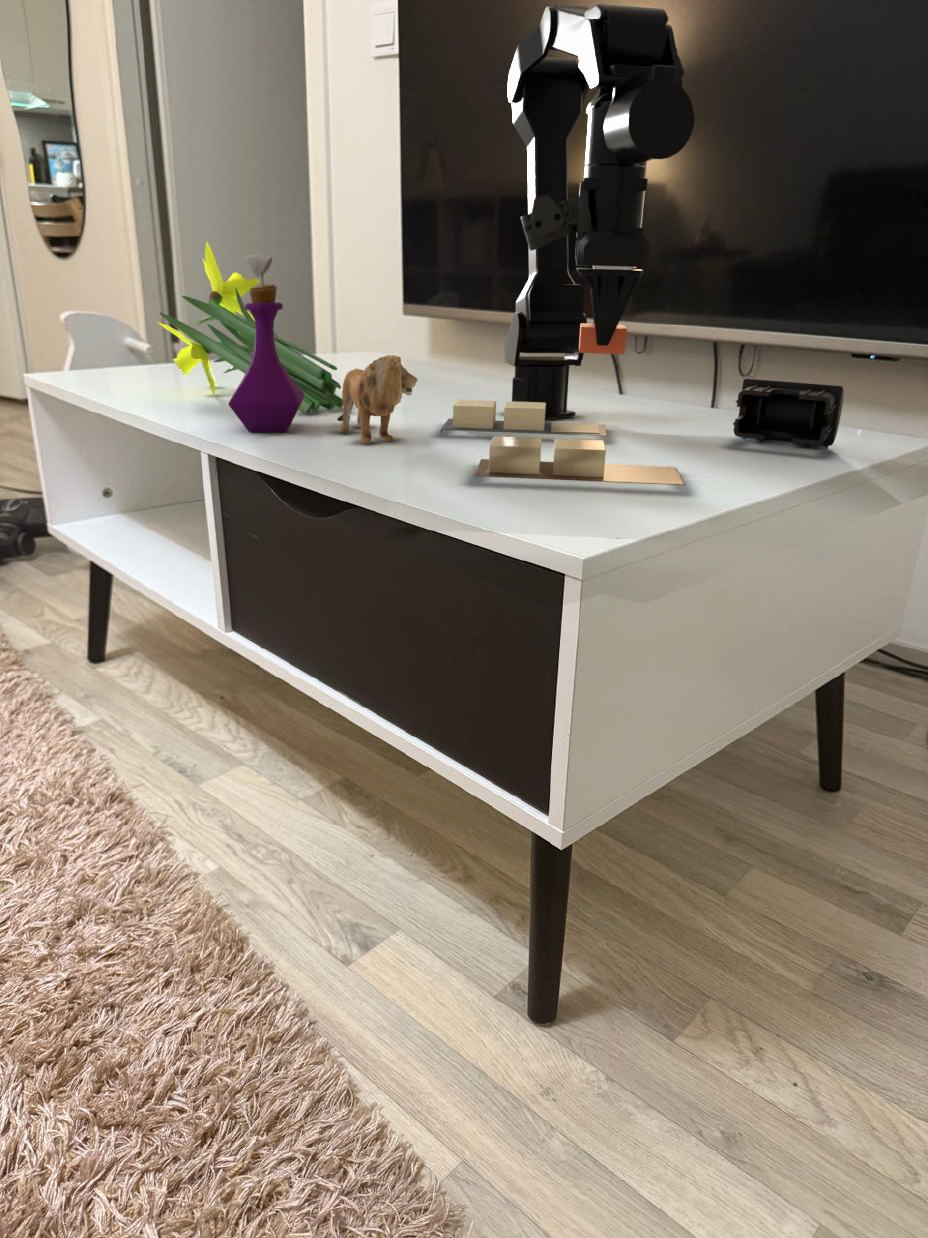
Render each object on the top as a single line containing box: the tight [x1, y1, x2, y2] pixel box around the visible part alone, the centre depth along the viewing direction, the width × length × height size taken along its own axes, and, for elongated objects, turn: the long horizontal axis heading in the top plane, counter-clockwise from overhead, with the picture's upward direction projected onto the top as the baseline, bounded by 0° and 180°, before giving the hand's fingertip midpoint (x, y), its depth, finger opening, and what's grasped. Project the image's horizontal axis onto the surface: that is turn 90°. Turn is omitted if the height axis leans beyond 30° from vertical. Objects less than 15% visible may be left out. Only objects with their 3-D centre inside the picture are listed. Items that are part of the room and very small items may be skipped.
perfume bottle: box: [228, 254, 305, 433], centre depth 97 cm, size 8×8×18 cm
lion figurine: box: [336, 354, 418, 445], centre depth 96 cm, size 15×5×9 cm, turn 33°
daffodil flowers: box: [156, 241, 343, 415], centre depth 120 cm, size 17×15×35 cm
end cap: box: [732, 378, 845, 449], centre depth 95 cm, size 10×7×7 cm
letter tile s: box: [579, 322, 628, 355], centre depth 89 cm, size 4×4×2 cm
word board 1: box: [439, 399, 608, 437], centre depth 100 cm, size 18×7×3 cm, turn 84°
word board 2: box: [473, 435, 686, 486], centre depth 80 cm, size 18×7×3 cm, turn 84°
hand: (601, 342), depth 90 cm, fingers closed on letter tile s, 4 cm apart
